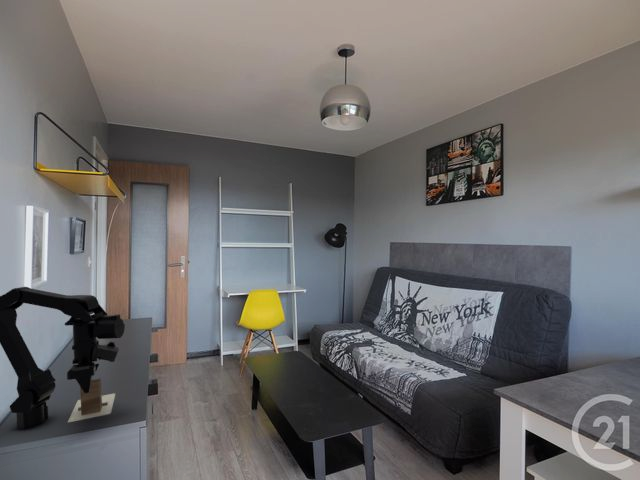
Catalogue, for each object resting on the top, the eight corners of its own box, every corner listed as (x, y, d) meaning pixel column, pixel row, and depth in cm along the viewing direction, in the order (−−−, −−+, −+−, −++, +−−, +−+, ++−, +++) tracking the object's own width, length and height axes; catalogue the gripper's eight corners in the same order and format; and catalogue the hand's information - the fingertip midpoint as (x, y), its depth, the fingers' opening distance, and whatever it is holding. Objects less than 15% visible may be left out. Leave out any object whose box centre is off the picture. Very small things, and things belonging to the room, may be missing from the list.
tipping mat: (110, 416, 112) (110, 410, 112) (67, 425, 107) (67, 419, 107) (115, 395, 128) (115, 390, 128) (78, 402, 123) (77, 397, 123)
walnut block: (100, 411, 114) (99, 382, 114) (81, 415, 111) (80, 386, 111) (102, 406, 117) (100, 378, 117) (83, 410, 115) (82, 381, 115)
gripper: (113, 343, 103) (115, 398, 103) (118, 329, 120) (120, 376, 120) (65, 349, 98) (67, 407, 98) (78, 333, 115) (80, 383, 115)
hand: (86, 392), depth 108 cm, fingers closed
